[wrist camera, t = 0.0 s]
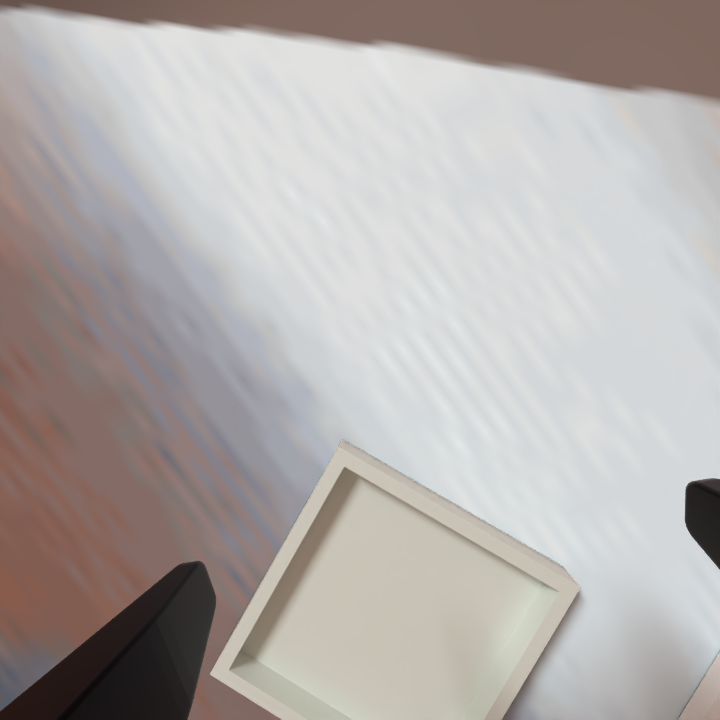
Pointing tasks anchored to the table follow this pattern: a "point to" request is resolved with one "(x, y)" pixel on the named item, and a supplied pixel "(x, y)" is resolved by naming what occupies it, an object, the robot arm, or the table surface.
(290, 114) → the table surface
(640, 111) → the table surface
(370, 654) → the tray
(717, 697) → the block
